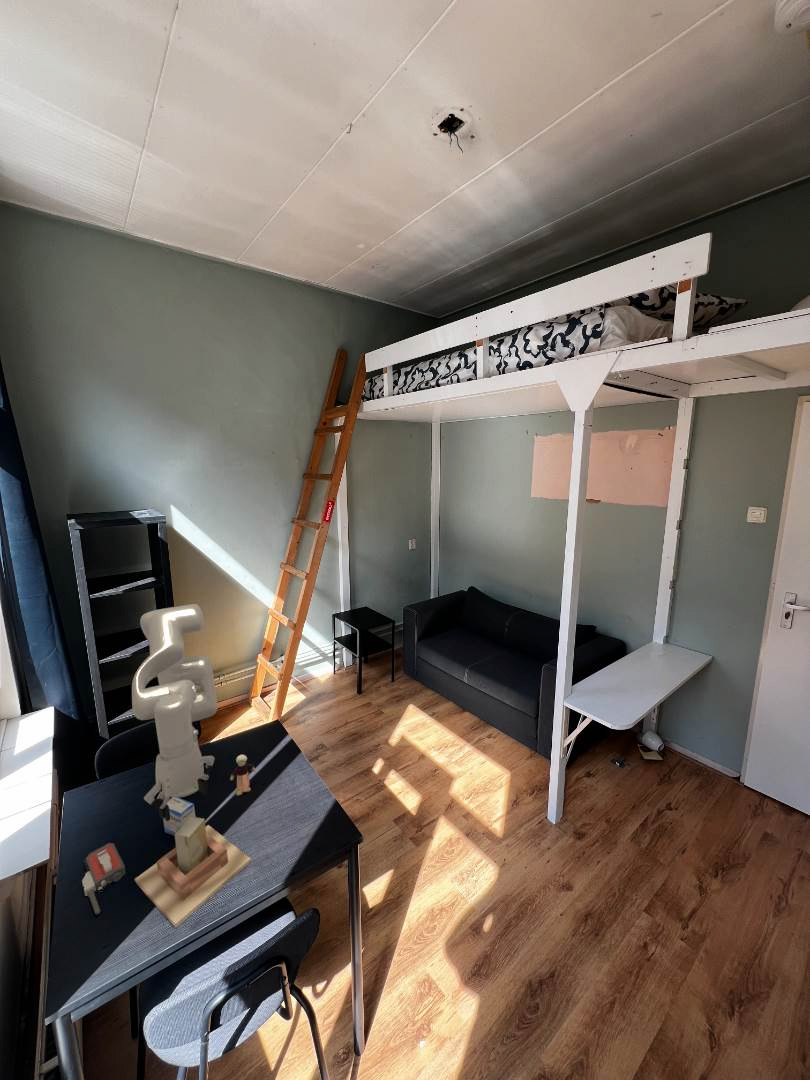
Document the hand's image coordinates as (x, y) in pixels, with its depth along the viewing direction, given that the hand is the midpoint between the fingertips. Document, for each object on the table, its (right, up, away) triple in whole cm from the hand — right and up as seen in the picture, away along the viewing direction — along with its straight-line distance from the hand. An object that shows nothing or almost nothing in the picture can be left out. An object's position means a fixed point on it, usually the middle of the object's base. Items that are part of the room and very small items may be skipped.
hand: (185, 804), depth 110 cm
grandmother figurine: (+4, -14, +31) cm, 34 cm away
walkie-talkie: (-22, -21, +2) cm, 30 cm away
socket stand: (+1, -19, +3) cm, 20 cm away
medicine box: (-9, -18, +16) cm, 26 cm away
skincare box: (+1, -18, +3) cm, 19 cm away
